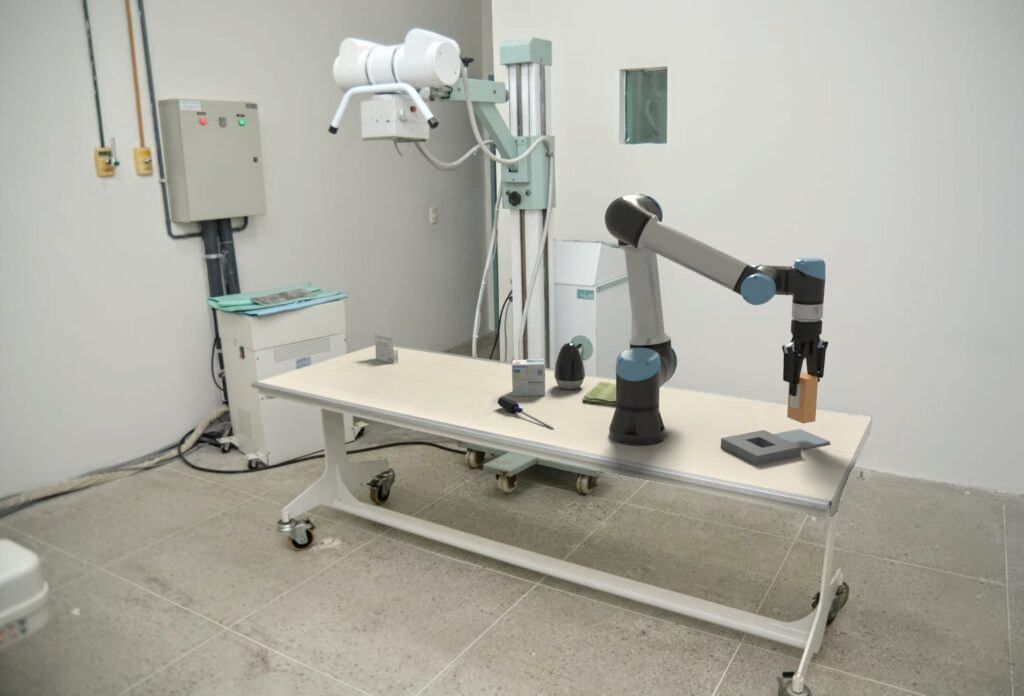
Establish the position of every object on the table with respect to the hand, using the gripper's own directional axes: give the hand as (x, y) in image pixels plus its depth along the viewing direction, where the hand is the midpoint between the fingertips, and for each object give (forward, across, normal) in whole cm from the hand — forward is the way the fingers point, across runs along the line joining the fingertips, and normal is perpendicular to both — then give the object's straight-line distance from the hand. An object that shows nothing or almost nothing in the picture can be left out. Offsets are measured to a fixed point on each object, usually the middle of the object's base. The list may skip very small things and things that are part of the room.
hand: (801, 405), depth 208 cm
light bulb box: (+9, -47, +72) cm, 86 cm away
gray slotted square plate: (+10, -15, -2) cm, 18 cm away
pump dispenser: (+9, -32, +72) cm, 79 cm away
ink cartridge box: (+9, -78, +136) cm, 157 cm away
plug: (+4, 0, 0) cm, 4 cm away
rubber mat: (+10, 0, 0) cm, 10 cm away
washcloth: (+10, -26, +57) cm, 63 cm away
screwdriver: (+10, -58, +50) cm, 77 cm away
